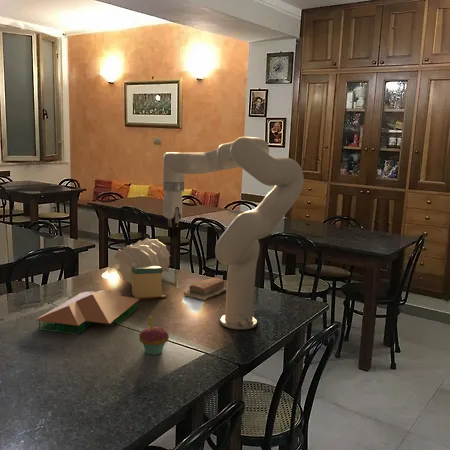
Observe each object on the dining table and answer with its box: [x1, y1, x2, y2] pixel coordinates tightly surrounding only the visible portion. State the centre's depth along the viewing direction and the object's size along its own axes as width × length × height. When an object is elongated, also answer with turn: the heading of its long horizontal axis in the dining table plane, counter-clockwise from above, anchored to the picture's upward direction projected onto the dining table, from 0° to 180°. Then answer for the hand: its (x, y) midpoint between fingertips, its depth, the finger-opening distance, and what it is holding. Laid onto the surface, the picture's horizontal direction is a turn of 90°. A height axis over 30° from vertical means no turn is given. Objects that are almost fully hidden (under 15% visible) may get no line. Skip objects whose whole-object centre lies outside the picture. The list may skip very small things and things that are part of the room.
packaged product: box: [182, 276, 227, 301], centre depth 203 cm, size 18×5×10 cm
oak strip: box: [130, 294, 167, 301], centre depth 193 cm, size 2×14×1 cm, turn 111°
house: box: [35, 289, 141, 335], centre depth 171 cm, size 23×33×8 cm
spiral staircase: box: [114, 237, 171, 286], centre depth 215 cm, size 18×18×25 cm
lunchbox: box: [131, 266, 163, 298], centre depth 195 cm, size 11×10×8 cm
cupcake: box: [138, 313, 170, 356], centre depth 146 cm, size 9×8×12 cm
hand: (173, 237), depth 183 cm, fingers closed
